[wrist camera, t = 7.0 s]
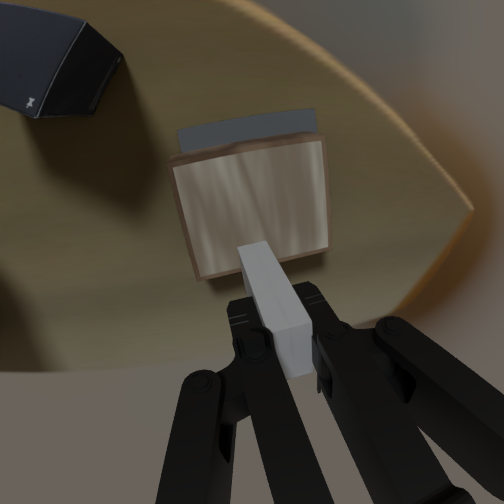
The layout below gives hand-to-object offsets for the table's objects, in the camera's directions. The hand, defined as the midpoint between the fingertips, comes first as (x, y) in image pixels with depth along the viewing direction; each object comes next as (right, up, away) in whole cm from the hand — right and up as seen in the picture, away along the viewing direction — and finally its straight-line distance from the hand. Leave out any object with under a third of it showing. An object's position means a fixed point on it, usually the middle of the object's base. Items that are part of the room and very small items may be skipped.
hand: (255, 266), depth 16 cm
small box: (-17, +17, +2) cm, 24 cm away
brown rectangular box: (-6, +4, +8) cm, 11 cm away
